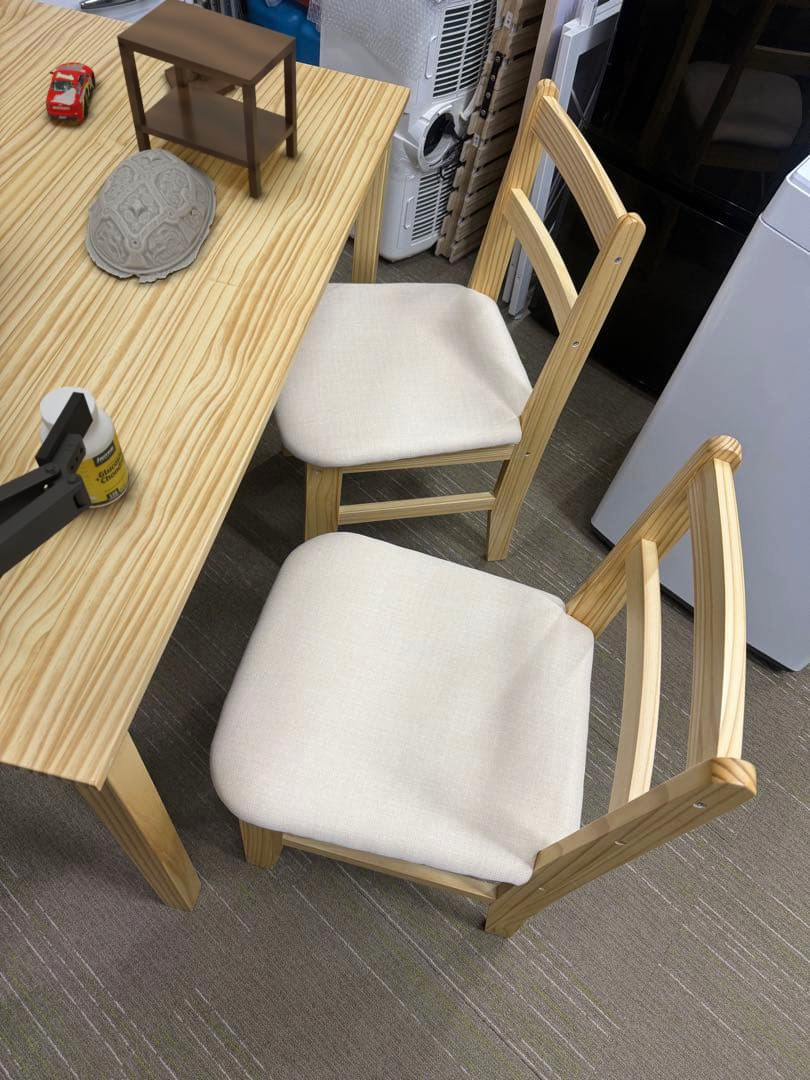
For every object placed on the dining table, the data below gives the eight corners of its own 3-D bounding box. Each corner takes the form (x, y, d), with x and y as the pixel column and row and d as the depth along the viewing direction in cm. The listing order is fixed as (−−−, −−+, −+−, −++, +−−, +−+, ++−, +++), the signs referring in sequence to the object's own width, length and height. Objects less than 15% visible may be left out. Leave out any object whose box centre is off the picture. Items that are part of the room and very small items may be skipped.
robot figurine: (154, 92, 116) (139, 2, 105) (171, 61, 121) (159, -28, 111) (228, 104, 116) (220, 16, 106) (242, 72, 121) (236, -15, 111)
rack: (257, 199, 105) (250, 80, 92) (140, 158, 107) (116, 35, 94) (297, 154, 111) (295, 37, 98) (185, 116, 113) (169, -4, 100)
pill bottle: (100, 521, 76) (70, 446, 66) (48, 491, 77) (10, 413, 67) (144, 476, 79) (121, 398, 69) (94, 448, 80) (64, 368, 70)
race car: (62, 75, 116) (54, 46, 112) (99, 78, 116) (93, 50, 113) (43, 125, 108) (35, 96, 105) (84, 128, 109) (77, 99, 106)
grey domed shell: (227, 163, 107) (217, 116, 101) (196, 292, 95) (182, 247, 89) (116, 160, 107) (99, 113, 101) (71, 289, 95) (49, 244, 89)
